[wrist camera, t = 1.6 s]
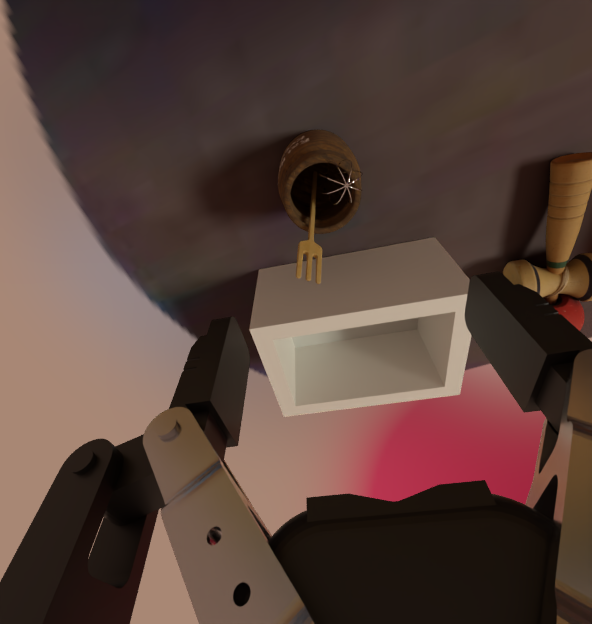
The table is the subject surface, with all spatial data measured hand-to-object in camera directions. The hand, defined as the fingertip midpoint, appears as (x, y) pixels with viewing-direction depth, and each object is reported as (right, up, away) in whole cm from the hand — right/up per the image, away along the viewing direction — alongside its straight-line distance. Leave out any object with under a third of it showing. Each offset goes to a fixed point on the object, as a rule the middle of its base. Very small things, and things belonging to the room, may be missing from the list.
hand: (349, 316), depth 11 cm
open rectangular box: (+4, +1, +23) cm, 23 cm away
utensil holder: (0, +12, +15) cm, 19 cm away
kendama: (+22, +6, +20) cm, 30 cm away
